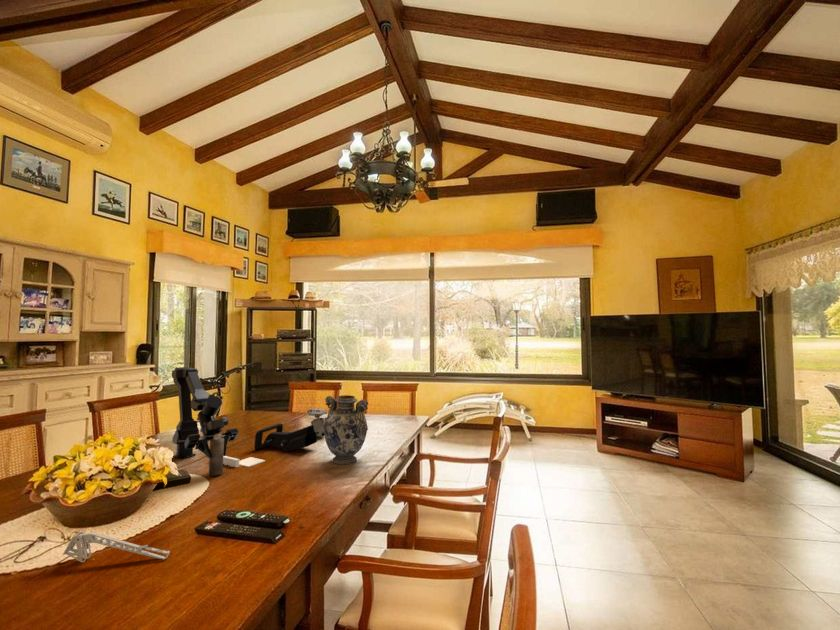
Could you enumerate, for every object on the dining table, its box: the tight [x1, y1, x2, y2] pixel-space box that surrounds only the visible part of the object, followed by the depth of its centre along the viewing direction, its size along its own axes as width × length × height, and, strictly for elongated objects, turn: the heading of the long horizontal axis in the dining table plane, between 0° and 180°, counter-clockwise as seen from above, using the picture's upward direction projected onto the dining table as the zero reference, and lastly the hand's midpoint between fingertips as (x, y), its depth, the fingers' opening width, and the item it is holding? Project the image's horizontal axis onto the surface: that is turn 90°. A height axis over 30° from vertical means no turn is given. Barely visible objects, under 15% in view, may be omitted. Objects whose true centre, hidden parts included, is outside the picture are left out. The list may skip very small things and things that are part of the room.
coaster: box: [239, 456, 266, 468], centre depth 172 cm, size 9×9×1 cm
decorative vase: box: [323, 394, 369, 465], centre depth 178 cm, size 21×19×28 cm
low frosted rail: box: [223, 455, 240, 468], centre depth 170 cm, size 15×2×3 cm, turn 64°
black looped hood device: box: [253, 423, 318, 452], centre depth 194 cm, size 17×27×15 cm, turn 72°
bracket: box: [62, 530, 171, 563], centre depth 99 cm, size 3×21×10 cm, turn 95°
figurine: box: [302, 407, 328, 439], centre depth 217 cm, size 9×12×15 cm
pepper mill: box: [208, 433, 224, 477], centre depth 157 cm, size 5×5×15 cm
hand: (218, 456), depth 156 cm, fingers closed on pepper mill, 5 cm apart
